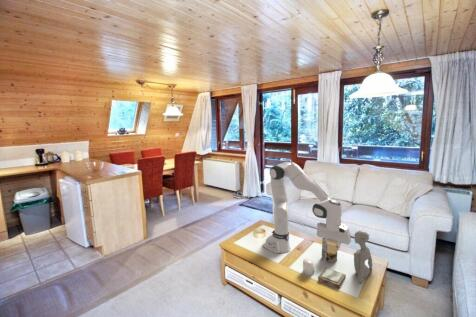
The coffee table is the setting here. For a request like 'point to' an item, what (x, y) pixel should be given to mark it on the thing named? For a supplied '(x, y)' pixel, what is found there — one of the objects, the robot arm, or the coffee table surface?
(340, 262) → the coffee table surface
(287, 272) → the coffee table surface
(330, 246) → the carton
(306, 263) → the white rounded cylinder
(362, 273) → the elf figurine
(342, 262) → the coffee table surface
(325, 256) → the coffee box
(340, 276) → the wooden picture frame
